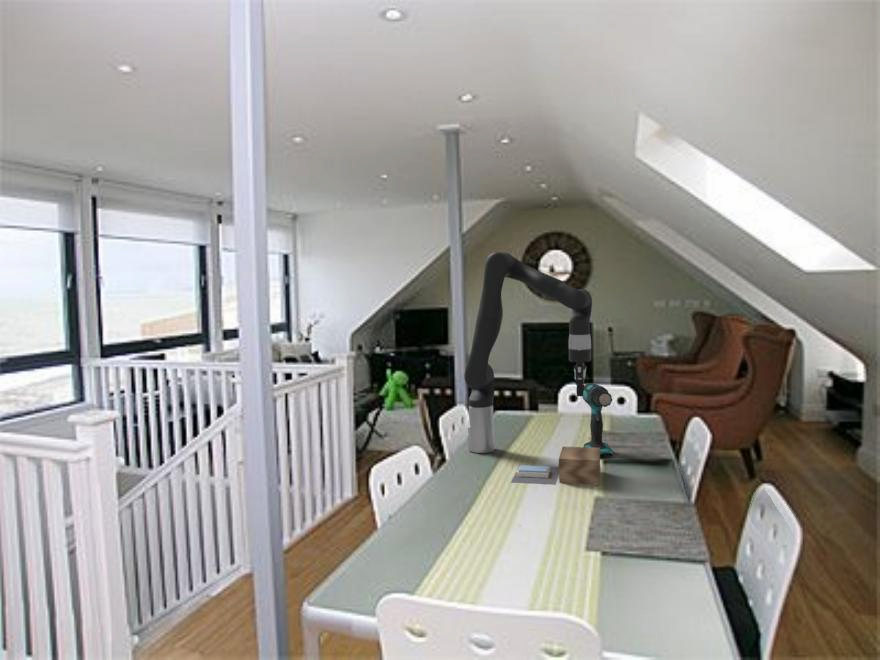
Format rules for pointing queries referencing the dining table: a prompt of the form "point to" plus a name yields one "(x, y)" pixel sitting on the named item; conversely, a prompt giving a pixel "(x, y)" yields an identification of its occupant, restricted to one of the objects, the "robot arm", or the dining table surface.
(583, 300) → the robot arm
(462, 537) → the dining table surface
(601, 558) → the dining table surface
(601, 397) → the power drill
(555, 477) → the mat
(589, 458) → the walnut block
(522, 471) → the card box
